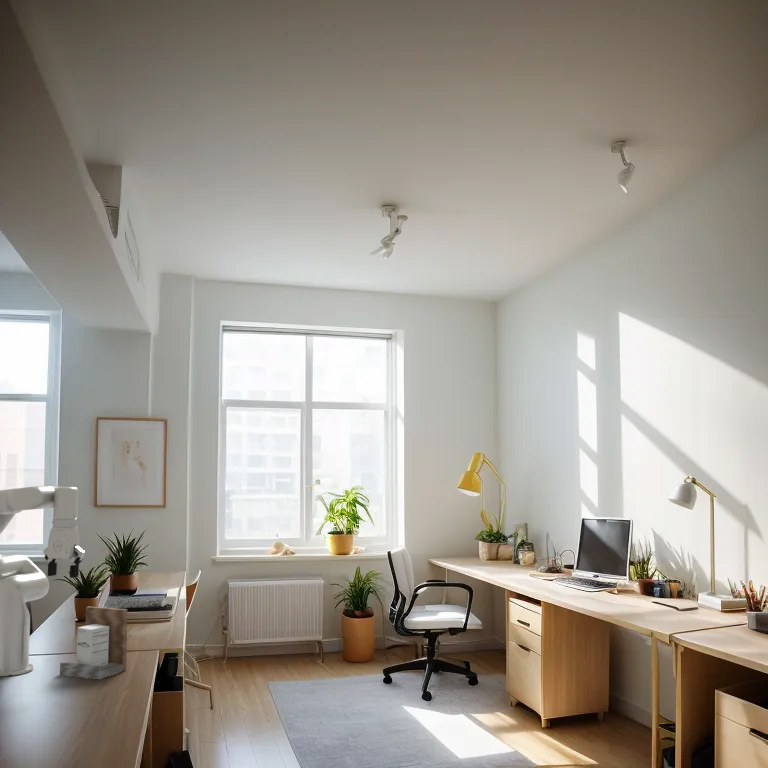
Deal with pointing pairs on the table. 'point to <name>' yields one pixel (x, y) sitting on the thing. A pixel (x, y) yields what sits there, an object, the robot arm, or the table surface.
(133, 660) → the table surface
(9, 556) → the robot arm
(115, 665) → the bookend
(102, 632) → the supplement box
